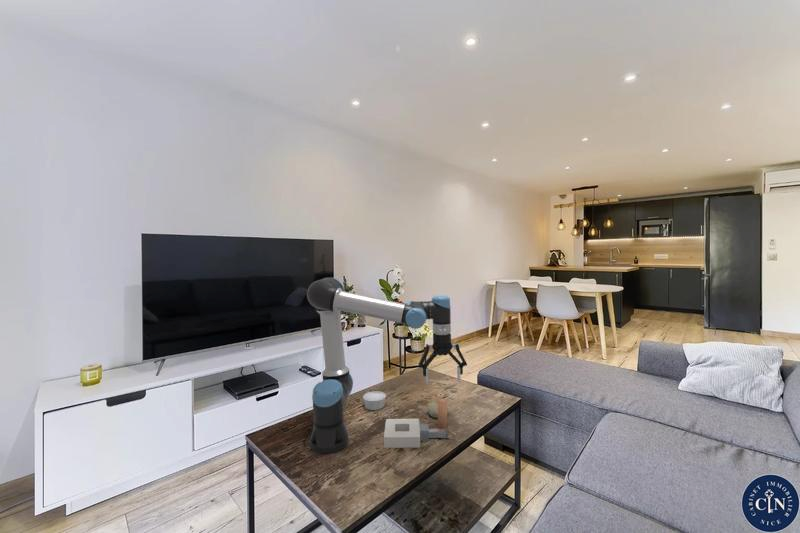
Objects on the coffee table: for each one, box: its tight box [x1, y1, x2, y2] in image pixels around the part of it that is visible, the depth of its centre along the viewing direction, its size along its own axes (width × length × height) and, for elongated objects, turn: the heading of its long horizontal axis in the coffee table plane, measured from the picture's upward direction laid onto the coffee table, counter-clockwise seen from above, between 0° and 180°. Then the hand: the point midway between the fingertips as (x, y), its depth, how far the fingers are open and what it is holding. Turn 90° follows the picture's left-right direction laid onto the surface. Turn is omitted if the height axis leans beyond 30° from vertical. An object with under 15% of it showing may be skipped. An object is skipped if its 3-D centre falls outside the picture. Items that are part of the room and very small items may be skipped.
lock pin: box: [429, 427, 449, 439], centre depth 137 cm, size 10×3×3 cm, turn 88°
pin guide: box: [419, 423, 430, 442], centre depth 138 cm, size 4×5×4 cm
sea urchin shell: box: [427, 401, 449, 419], centre depth 156 cm, size 9×8×8 cm
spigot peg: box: [437, 397, 449, 429], centre depth 144 cm, size 4×4×12 cm
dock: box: [383, 418, 421, 449], centre depth 138 cm, size 14×14×4 cm
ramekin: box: [362, 390, 387, 411], centre depth 166 cm, size 11×11×5 cm
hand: (443, 382), depth 144 cm, fingers open, 13 cm apart
